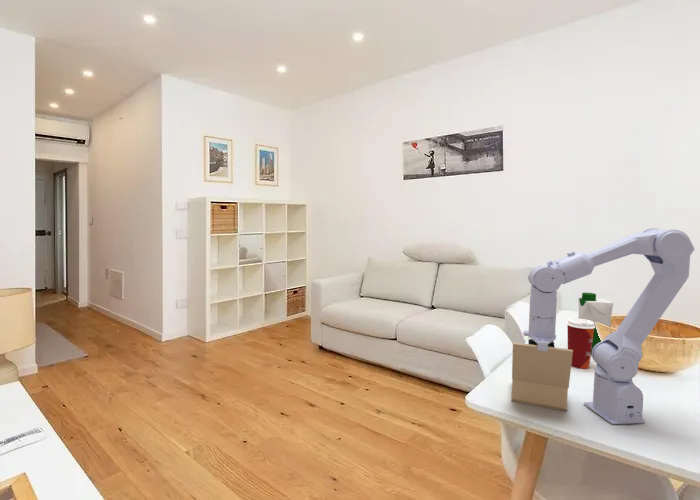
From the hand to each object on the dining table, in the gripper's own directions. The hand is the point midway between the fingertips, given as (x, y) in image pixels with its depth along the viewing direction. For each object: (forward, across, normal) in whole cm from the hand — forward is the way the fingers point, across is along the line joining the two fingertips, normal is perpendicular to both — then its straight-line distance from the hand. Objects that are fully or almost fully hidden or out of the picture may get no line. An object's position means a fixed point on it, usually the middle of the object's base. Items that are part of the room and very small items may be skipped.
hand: (539, 371), depth 94 cm
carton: (+8, -5, 0) cm, 10 cm away
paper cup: (+9, -33, +12) cm, 36 cm away
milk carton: (+9, -49, +18) cm, 53 cm away
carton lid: (-3, +3, 0) cm, 4 cm away
